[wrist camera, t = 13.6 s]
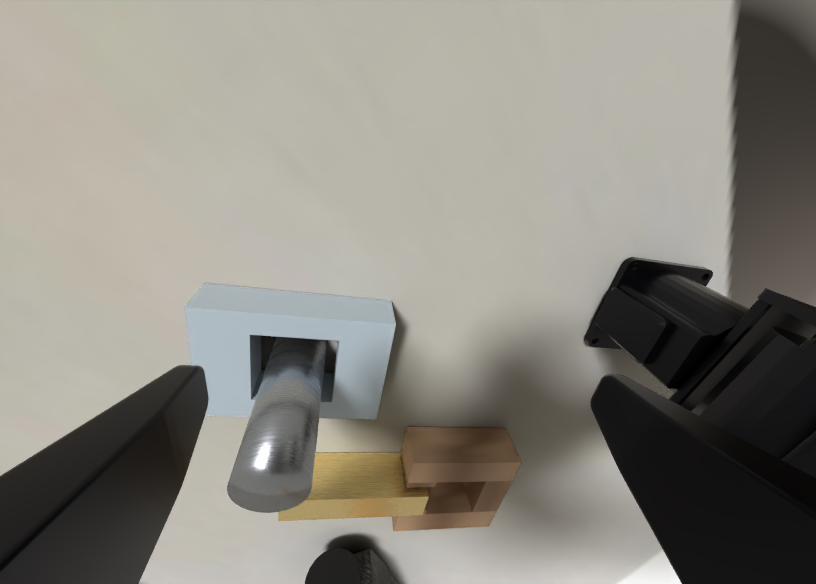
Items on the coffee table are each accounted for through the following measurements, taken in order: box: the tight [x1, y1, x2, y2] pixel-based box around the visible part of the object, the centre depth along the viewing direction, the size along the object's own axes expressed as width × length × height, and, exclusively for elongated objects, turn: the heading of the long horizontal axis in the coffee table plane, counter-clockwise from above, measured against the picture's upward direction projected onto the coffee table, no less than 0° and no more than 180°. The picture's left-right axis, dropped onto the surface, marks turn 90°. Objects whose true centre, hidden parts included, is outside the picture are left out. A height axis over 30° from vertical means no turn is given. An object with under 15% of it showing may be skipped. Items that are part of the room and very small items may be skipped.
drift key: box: [278, 453, 429, 521], centre depth 25 cm, size 10×2×4 cm, turn 79°
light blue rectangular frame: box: [184, 283, 396, 419], centre depth 20 cm, size 10×7×2 cm
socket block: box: [392, 427, 522, 531], centre depth 27 cm, size 8×8×3 cm
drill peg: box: [227, 337, 327, 513], centre depth 17 cm, size 3×3×9 cm
